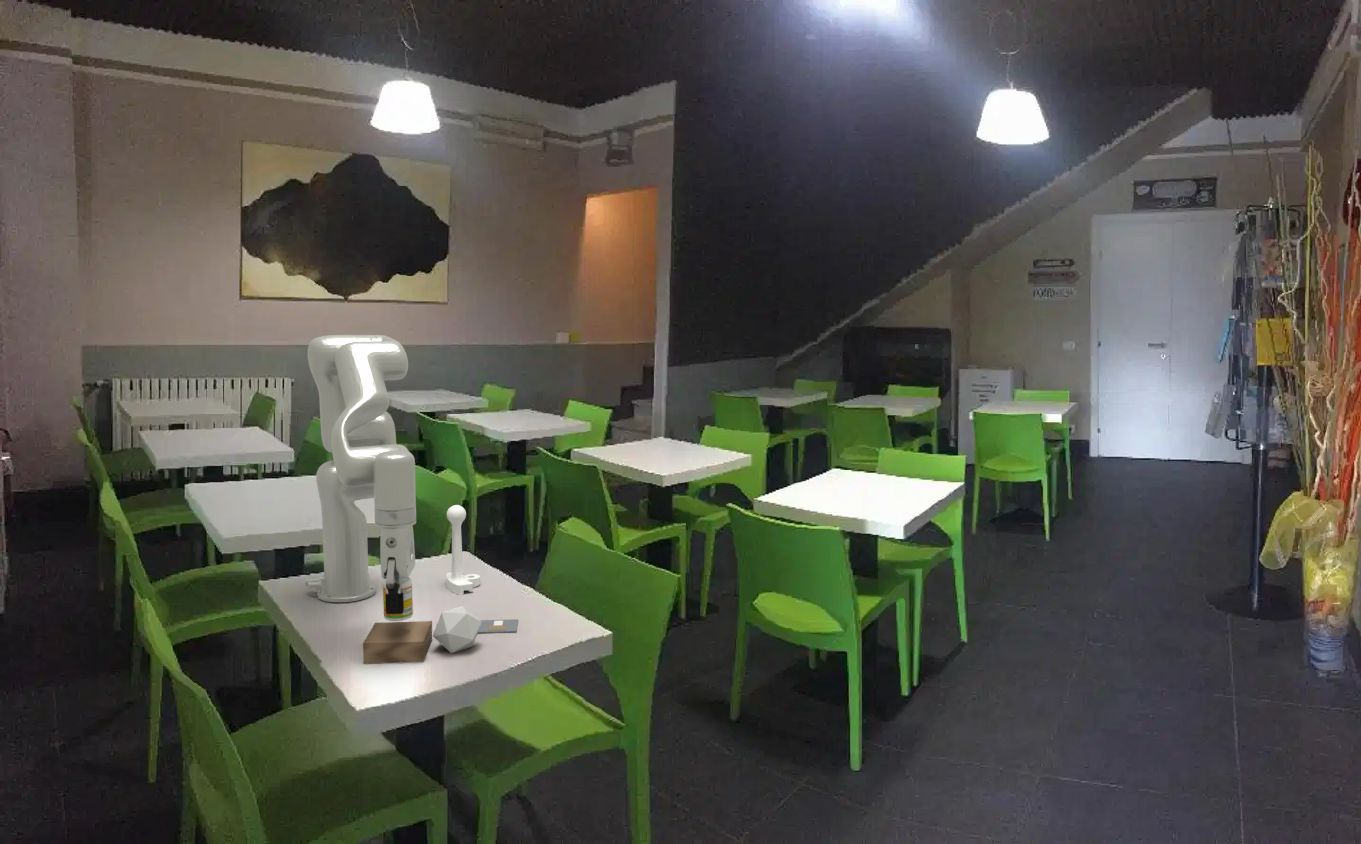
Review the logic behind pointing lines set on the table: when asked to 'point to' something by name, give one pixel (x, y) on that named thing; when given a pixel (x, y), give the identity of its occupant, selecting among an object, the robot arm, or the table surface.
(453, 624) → the die
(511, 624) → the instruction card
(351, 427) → the robot arm
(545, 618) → the table surface
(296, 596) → the table surface
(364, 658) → the base block
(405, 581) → the supplement bottle
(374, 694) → the table surface
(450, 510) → the joystick
